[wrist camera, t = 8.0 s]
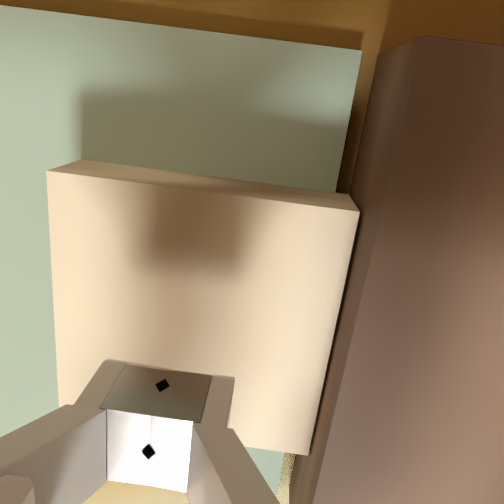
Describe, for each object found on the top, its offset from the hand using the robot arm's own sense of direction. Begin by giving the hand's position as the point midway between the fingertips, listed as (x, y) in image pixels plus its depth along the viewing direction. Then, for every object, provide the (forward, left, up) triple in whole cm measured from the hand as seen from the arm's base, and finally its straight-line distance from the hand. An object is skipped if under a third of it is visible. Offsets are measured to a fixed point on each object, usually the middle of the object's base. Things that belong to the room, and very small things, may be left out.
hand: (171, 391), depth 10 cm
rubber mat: (+2, 0, -5) cm, 6 cm away
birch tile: (0, 0, -4) cm, 5 cm away
